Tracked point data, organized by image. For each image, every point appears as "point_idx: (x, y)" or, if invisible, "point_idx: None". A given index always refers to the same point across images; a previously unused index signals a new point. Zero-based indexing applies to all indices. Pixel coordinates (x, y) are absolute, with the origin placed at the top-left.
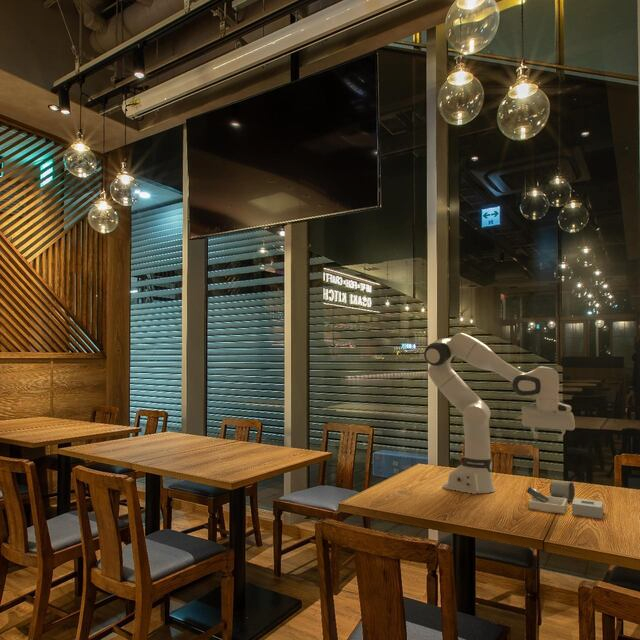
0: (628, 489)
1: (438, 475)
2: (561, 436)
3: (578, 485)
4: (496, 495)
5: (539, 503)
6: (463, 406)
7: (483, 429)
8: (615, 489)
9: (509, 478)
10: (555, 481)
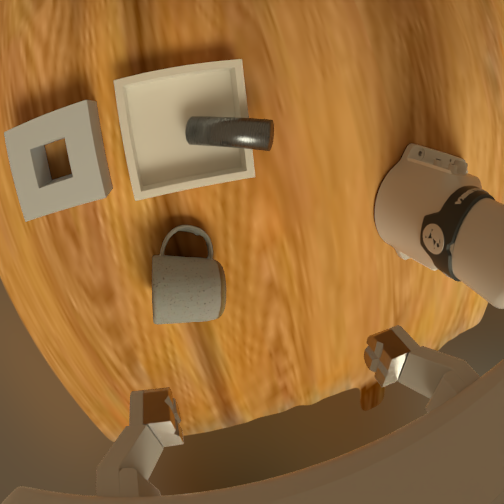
0: None
1: None
2: (134, 424)
3: (205, 415)
4: (362, 171)
5: (201, 64)
6: None
7: None
8: None
9: (353, 363)
10: (210, 299)
